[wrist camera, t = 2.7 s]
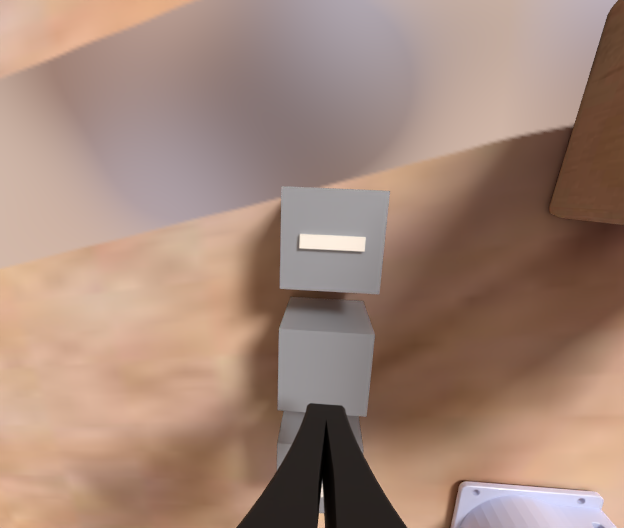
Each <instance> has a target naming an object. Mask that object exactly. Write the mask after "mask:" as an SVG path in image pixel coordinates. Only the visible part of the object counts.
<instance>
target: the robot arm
mask: <svg viewBox="0 0 624 528" xmlns="http://www.w3.org/2000/svg"><path fill="white" fill-rule="evenodd" d="M322 481H323V498H324V516H325V528H407V527H406V525H405V524H404V522H403V521H402V519H401V518H400V517H399V515H398V514H397V512H396V511H395V509H394V508H393V506H392V504H391V503H390V501H389V500H388V498H387V497H386V495H385V493H384V492H383V490H382V488H381V487H380V485H379V483H378V482H377V480H376V478H375V476H374V474H373V473H372V471H371V469H370V467H369V465H368V463H367V461H366V459H365V458H364V455H363V453H362V451H361V449H360V447H359V445H358V443H357V441H356V438H355V436H354V434H353V431H352V429H351V426H350V424H349V421H348V418H347V415H346V412H345V408H344V407H343V406H342V405H329V404H315V403H310V404H308V405H307V408H306V412H305V415H304V418H303V421H302V423H301V426H300V428H299V430H298V433H297V435H296V437H295V439H294V441H293V443H292V445H291V447H290V449H289V451H288V453H287V454H286V456H285V458H284V460H283V461H282V463H281V465H280V467H279V469H278V470H277V472H276V473H275V475H274V477H273V478H272V480H271V481H270V483H269V484H268V486H267V487H266V489H265V490H264V492H263V493H262V495H261V496H260V497H259V499H258V500H257V501H256V503H255V504H254V506H253V507H252V508H251V510H250V511H249V512H248V514H247V515H246V516H245V517H244V519H243V520H242V521H241V523H240V524H239V525H238V526H237V527H236V528H317V526H318V516H319V507H320V498H321V488H322ZM603 502H604V500H603V498H602V497H601V496H600V495H599V494H598V493H597V492H594V491H582V490H569V489H557V488H545V487H532V486H520V485H507V484H495V483H482V482H470V481H464V482H462V483H461V484H460V486H459V489H458V494H457V499H456V504H455V509H454V514H453V519H452V523H451V528H617V527H616V526H615V525H614V524H613V523H612V522H611V520H610V519H609V518H608V517H607V516H606V515H605V514H604V512H603V511H602V510H601V508H602V505H603Z"/></svg>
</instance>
